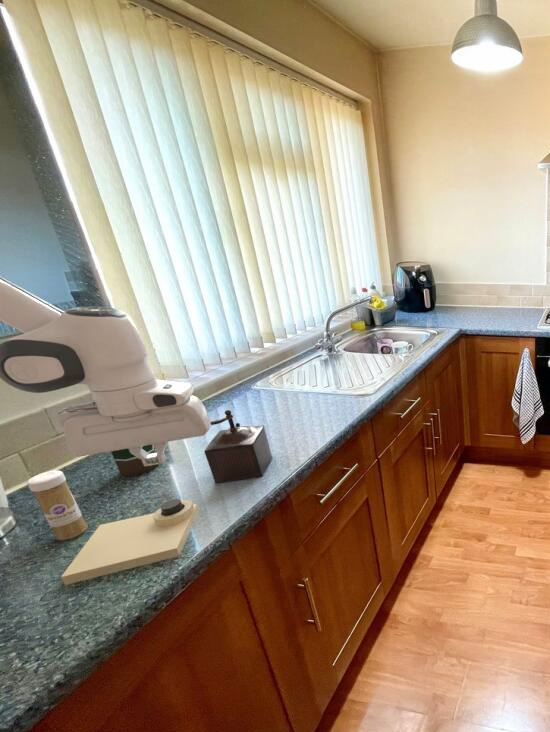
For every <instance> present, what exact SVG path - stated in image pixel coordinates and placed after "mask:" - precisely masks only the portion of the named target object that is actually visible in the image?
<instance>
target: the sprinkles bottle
mask: <svg viewBox="0 0 550 732" xmlns="http://www.w3.org/2000/svg"><path fill="white" fill-rule="evenodd" d="M26 484H27V486H28V489H29V490H30V492H31V493H33V495H34V496H35V498H36V499H35V500H36V501H37V503H38V505H39V507H40V509H41V511H42V513H43V515H44V517H45V519H46V521H47V523H48V525H49V527H51V529H52V531H53V533H54V535H55V539H56V540H57V541H67V540H71V539H74V538H77V537H79V536H81V535H82V534H84V533H85V532H86V531H88V529H89V524H87V523H86V521H85V519H84V517H83V515H82V514H83V513H82V512H81V509H80V507H79V505H78V503H77V501H76V499H75V497H74V495H73V493H72V492H71V490H70V488H69V486H68V484H67V478H66V476H65V474H64V471H62V470H48V471H45V472H41V473H38V474H37V475H35V476H32V477H31V478H29V479H28V480H27V482H26Z"/></svg>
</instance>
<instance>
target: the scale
mask: <svg viewBox="0 0 550 732" xmlns="http://www.w3.org/2000/svg"><path fill="white" fill-rule="evenodd" d="M180 500H181V503H182V505H183V509H182V510H181V511H180V512H178V513H176V514H173V515H169V516H164V515H163V513H162V510H161V507H160V508H158V509H156V511H154V512H153V513H148V514H144V515H138V516H135V517H134V516H133V517H130V518H129V517H128V518H125V519H121V520H117V521H112V522H108V523H102V524H99V525H98V527H97V528H96V529H95V531H94V532H93V533H92V535H91V536H90V537H89V539H88V540H87V541H86V543H84V546H83V547H82V548H81V549H80V551H79V552H78V553H77V554H76V556H75V557H74V558H73V560H72V562H71V563H70V564H69V566H68V567H67V568H66V569H65V571H64V572H63V573H62V575H61V576H60V579H61V581H62V582H63V584H64V585H65V586H67V585H71V584H75V583H80V582H83V581H87V580H91V579H95V578H100V577H104V576H106V575H111V574H114V573H118V572H123V571H126V570H129V569H134V568H138V567H141V566H145V565H149V564H154V563H157V562H161V561H165V560H169V559H174V558H177V557H180V556H181V554H182V552H183V549H184V547H185V545H186V542H187V540H188V538H189V536H190V533H191V531H192V528H193V526H194V524H195V522H196V520H197V517H198V515H199V513H200V508H199V506H198V504H197V503H193V502H191V500H187V499H180Z"/></svg>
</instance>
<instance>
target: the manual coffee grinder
mask: <svg viewBox="0 0 550 732" xmlns="http://www.w3.org/2000/svg"><path fill="white" fill-rule="evenodd" d="M224 415H225V417H223V418H220V419H216V420H213V421H212V420H211V426H214V425H215V426H216V425H218V424H221V423H224V422H226V421H228V424H229V428H228V429H221V430H219V431H218V432H217V433H216V435H214V437H213V438H212V440H211V441H210V442H209V443H208V445H207V446H206V447H205V449H204V451H203V452H204V455H205V457H206V461H207V463H208V466H209V470H210V471H211V475H212V478H213V481H214V484H217V485H218V484H226V483H231V482H232V483H233V482H240V481H245V480H251V479H257V478H262V477H264V475H265V473H266V471H267V470H268V467H269V465H270V463H271V462H272V459H273V454H272V452H271V447H270V443H269V439H268V436H267V432H266V428H265V425H263V424H262V425H254V426H251V425H241V423H239V422H237V423H234V420H233V419H234V415H233V414H232V411H231V410H230V409H226V410H225V411H224Z"/></svg>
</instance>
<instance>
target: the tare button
mask: <svg viewBox="0 0 550 732" xmlns="http://www.w3.org/2000/svg"><path fill="white" fill-rule="evenodd" d="M181 500H182V499H180V498H174V499H169V500H168V501H165V502H164V503H162V504H161V505H160V508H161V510H162V513H163V515H164V516H169V515H173V514H176V513H178V512H180V511H181V510H182V509H183V505H182V503H181Z"/></svg>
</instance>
